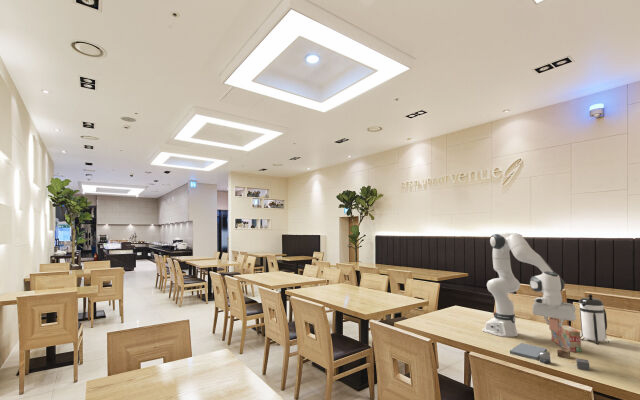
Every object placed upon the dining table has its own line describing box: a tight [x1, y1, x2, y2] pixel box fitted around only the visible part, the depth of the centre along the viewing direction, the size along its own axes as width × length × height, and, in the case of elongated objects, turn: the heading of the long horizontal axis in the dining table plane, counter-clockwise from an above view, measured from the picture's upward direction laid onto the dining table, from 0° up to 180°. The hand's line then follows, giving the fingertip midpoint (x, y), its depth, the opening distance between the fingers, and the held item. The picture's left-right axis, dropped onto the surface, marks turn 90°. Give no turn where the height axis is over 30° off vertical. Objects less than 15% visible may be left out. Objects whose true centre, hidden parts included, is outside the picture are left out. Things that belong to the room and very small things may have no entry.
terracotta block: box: [548, 317, 560, 331], centre depth 188 cm, size 4×4×6 cm
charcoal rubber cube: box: [575, 357, 591, 372], centre depth 175 cm, size 5×5×4 cm
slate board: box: [509, 342, 548, 361], centre depth 198 cm, size 14×20×2 cm
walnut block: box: [556, 346, 571, 360], centre depth 191 cm, size 5×5×4 cm
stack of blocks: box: [550, 324, 582, 353], centre depth 209 cm, size 21×6×12 cm, turn 171°
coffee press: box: [578, 293, 610, 346], centre depth 218 cm, size 17×16×30 cm
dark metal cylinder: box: [539, 351, 552, 365], centre depth 184 cm, size 5×5×5 cm
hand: (554, 325), depth 188 cm, fingers closed on terracotta block, 4 cm apart
